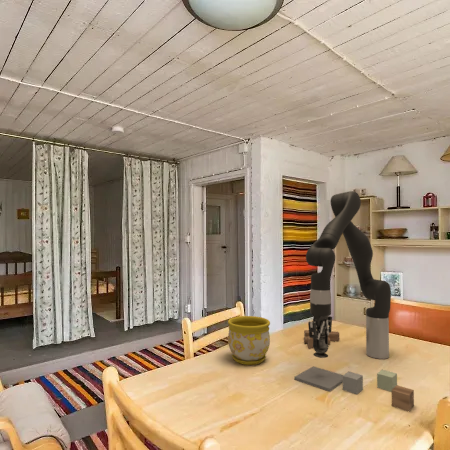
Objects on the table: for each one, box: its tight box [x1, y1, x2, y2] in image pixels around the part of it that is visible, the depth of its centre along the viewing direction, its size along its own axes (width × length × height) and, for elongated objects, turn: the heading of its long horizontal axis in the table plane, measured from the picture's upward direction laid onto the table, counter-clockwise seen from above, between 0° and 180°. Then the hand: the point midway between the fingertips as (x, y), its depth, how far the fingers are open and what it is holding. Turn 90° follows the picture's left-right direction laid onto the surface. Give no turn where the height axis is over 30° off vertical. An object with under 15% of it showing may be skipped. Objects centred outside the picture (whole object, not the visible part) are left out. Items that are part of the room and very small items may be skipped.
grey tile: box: [293, 366, 344, 393], centre depth 127 cm, size 14×14×1 cm
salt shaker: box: [312, 327, 330, 359], centre depth 128 cm, size 6×6×12 cm
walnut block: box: [391, 384, 415, 412], centre depth 108 cm, size 5×5×5 cm
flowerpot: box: [227, 315, 271, 366], centre depth 147 cm, size 18×18×16 cm
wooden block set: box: [303, 329, 340, 350], centre depth 168 cm, size 17×6×18 cm
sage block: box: [376, 369, 398, 393], centre depth 121 cm, size 5×5×5 cm
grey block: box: [342, 371, 364, 395], centre depth 119 cm, size 5×5×5 cm
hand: (320, 346), depth 128 cm, fingers closed on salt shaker, 6 cm apart
